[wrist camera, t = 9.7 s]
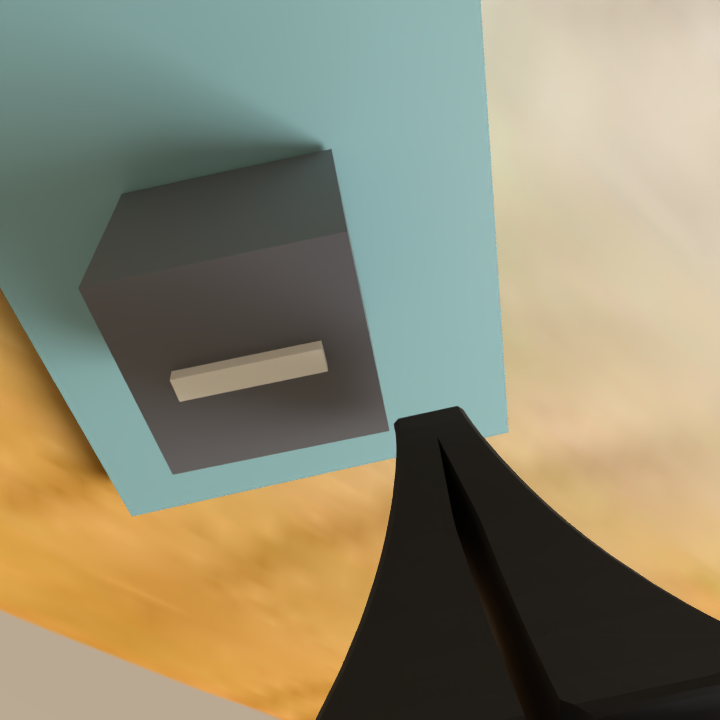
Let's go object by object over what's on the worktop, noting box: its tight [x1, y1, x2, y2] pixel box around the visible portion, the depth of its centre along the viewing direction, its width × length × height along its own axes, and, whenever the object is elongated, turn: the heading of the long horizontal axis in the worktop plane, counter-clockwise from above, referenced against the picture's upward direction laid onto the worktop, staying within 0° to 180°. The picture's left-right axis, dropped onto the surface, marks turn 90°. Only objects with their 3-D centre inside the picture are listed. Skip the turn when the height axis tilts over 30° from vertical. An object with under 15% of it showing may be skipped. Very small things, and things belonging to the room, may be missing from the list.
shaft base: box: [0, 0, 508, 516], centre depth 17 cm, size 13×16×4 cm
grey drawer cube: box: [78, 149, 389, 475], centre depth 16 cm, size 5×5×5 cm
